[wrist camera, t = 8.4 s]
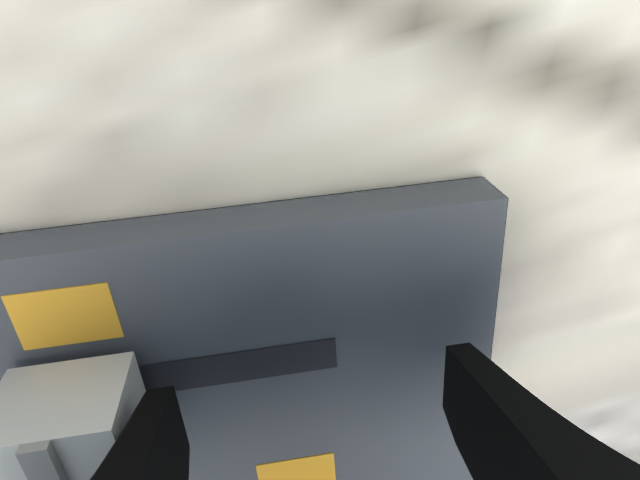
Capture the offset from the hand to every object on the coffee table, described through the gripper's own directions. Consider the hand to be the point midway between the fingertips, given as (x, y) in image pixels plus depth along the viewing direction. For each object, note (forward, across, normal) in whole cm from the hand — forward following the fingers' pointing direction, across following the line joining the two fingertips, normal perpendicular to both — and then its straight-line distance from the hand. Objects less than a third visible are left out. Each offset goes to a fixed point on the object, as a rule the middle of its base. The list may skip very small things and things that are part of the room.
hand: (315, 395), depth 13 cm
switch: (+1, +6, 0) cm, 6 cm away
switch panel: (+3, +4, +7) cm, 8 cm away
